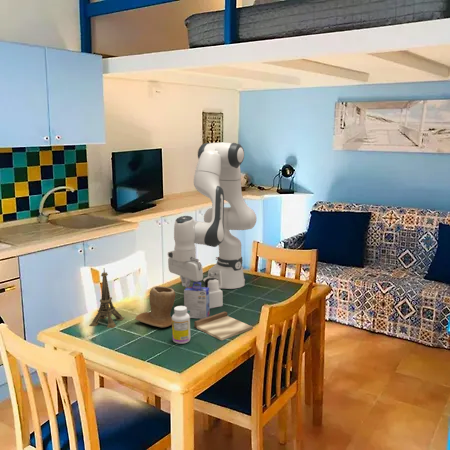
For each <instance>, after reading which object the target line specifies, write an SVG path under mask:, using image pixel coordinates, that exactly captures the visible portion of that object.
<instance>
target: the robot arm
mask: <svg viewBox="0 0 450 450" xmlns="http://www.w3.org/2000/svg"><path fill="white" fill-rule="evenodd" d="M197 159H198V161H197V163H196V167H195V170H194V171H195V172H194V175H193V186H194V188H195V190H196V191H197V192H199V194H201V195H203V196H205V197H207V199H208V198H209V200H210V201H211V207H209V208H207V209H206V210H205V212H204V216H203V221H198V220H195V219H194V218H193V216H189V215H183V216H179V217H178V218H176V219H175V221H174V226H173V239H174V250H171V251H168V252H167V257H168V260H167V263H168V264H167V265H168V271H169V272H170V273H171V274H175V275H177V276H179V277H180V281H181V285H182V287H184V288H185V289H186V288H187V287H191V286H190V285H191V282H192V281H193V282H201V281H203V282H204V283H205V280H206V279H208V278H216V279H218V280H219V288H218V289H220V290H221V289H229V290H230V289H231V290H232V289H240V288H243V287H244V286H246V283H245V282H246V279H245V276H244V267H243V257H242V242H241V240H240V239H239V238H238V237H236V236H234V235H233V234H232V233H231V232H230V231H246V230H247V231H248V230H252V229H253V228H254V227H255V225H256V223H257V214H256V212H255V211H254V210H253V209H252V208H251V207H250V206H248V204H247V203H246V202H245V200H244V198H243V192H242V171H241V167H240V166H241V165H242V164H243V162H244V159H245V150H244V148H243V146H242V145H241V144H240V143H236V142H222V141H221V142H205V143H202V144H201V145H200V146H199V148H198V150H197ZM225 202H227V203H228V204H229V207H227V206H226V207H225ZM196 244H197V245H203V246H204V245H205V246H206V247H207V246H208V247H212V248H216V247H218V256H216V257H215V260H216V263H215V264H214V265H213V266H212V267H211V268H209V269H208V271H207V276H206V277H204V270H203V265H202V263H201V261H200V259H198V258H196V257H197V256H196Z"/></svg>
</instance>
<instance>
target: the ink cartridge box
mask: <svg viewBox="0 0 450 450" xmlns="http://www.w3.org/2000/svg"><path fill="white" fill-rule="evenodd" d="M196 284H197V285H196ZM202 284H203V283H202V282H201V281H198V282H195V281H193V283H192V286H189V287H187V288H186V287H185V289H184V290H183V306H185V307H187V312H186V313H188V314H189V316H190V319H197V320H200V319H203V318H206V317H209V316H211V315H210V311H211V310H210V309H211V308H210V309H209V288H208V287H205V286H202Z"/></svg>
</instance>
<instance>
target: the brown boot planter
mask: <svg viewBox="0 0 450 450" xmlns="http://www.w3.org/2000/svg"><path fill="white" fill-rule="evenodd" d="M148 296H149V299H148V300H149V307H150V311H145V312H141V313H139V314H137V315H136V316H135V318H134V319H135V321H138V322H141V323H144V324H146V325H149V326H152V327H158V328H161V329H162V328H167V327H170V326H171V327H172V316H171V312H172V309H173V306H174V304H175V299H176V292H175V290H174V289H173V288H171V287H169V286H159V285H158V286H157V285H156V286H153V287H151V288H150V290H149V295H148Z"/></svg>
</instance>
